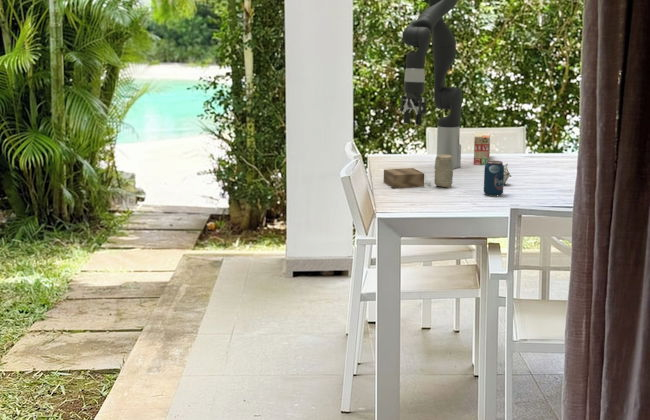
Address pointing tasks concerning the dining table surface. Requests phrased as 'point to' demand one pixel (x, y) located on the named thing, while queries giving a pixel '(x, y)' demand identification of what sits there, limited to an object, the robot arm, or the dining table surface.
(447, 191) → the dining table surface
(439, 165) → the carving
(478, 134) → the cardboard product box
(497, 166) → the soda can
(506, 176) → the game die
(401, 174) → the walnut block
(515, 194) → the dining table surface
